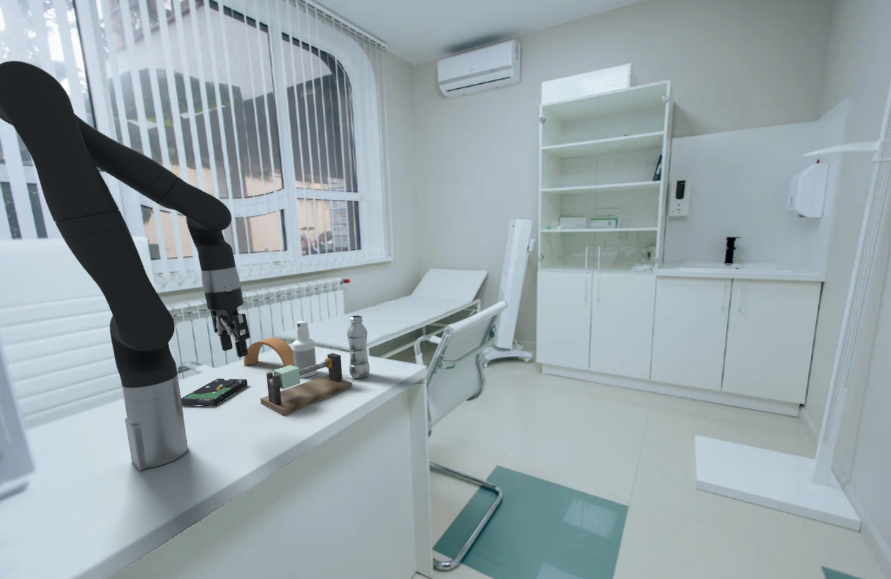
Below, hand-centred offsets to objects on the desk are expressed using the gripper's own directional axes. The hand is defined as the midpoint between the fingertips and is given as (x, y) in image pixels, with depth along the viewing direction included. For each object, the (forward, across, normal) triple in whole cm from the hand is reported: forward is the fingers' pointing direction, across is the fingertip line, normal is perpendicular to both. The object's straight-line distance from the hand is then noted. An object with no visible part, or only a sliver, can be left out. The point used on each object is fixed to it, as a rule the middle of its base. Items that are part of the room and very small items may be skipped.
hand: (235, 352), depth 92 cm
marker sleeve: (+14, -1, +12) cm, 18 cm away
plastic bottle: (+21, 0, +36) cm, 41 cm away
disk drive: (+19, -24, +2) cm, 31 cm away
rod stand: (+19, -1, +18) cm, 26 cm away
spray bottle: (+20, -17, +27) cm, 38 cm away
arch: (+20, -35, +24) cm, 47 cm away
